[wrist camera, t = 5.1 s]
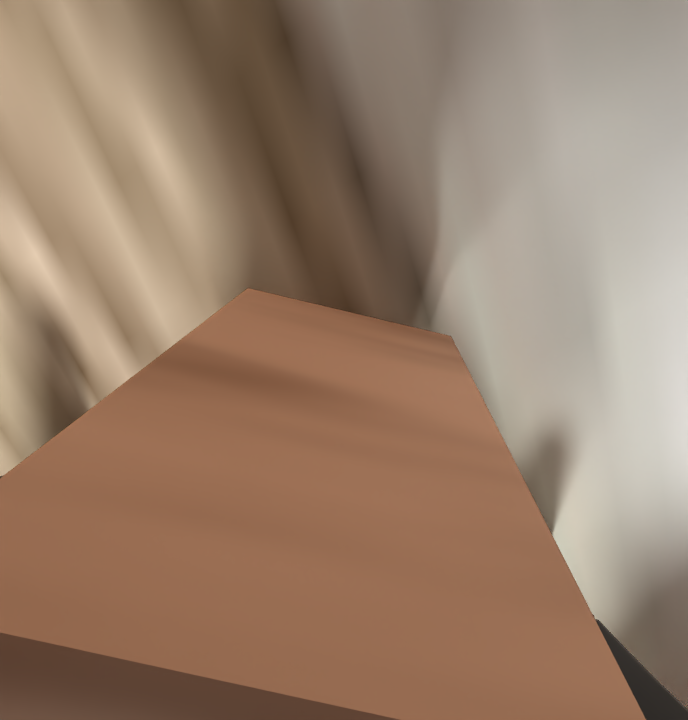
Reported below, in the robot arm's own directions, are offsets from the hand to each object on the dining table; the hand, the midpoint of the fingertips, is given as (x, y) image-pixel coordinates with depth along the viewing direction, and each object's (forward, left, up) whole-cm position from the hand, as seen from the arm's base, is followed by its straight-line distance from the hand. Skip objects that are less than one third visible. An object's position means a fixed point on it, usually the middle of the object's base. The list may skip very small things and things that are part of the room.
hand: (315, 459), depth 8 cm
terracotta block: (0, 0, -3) cm, 2 cm away
